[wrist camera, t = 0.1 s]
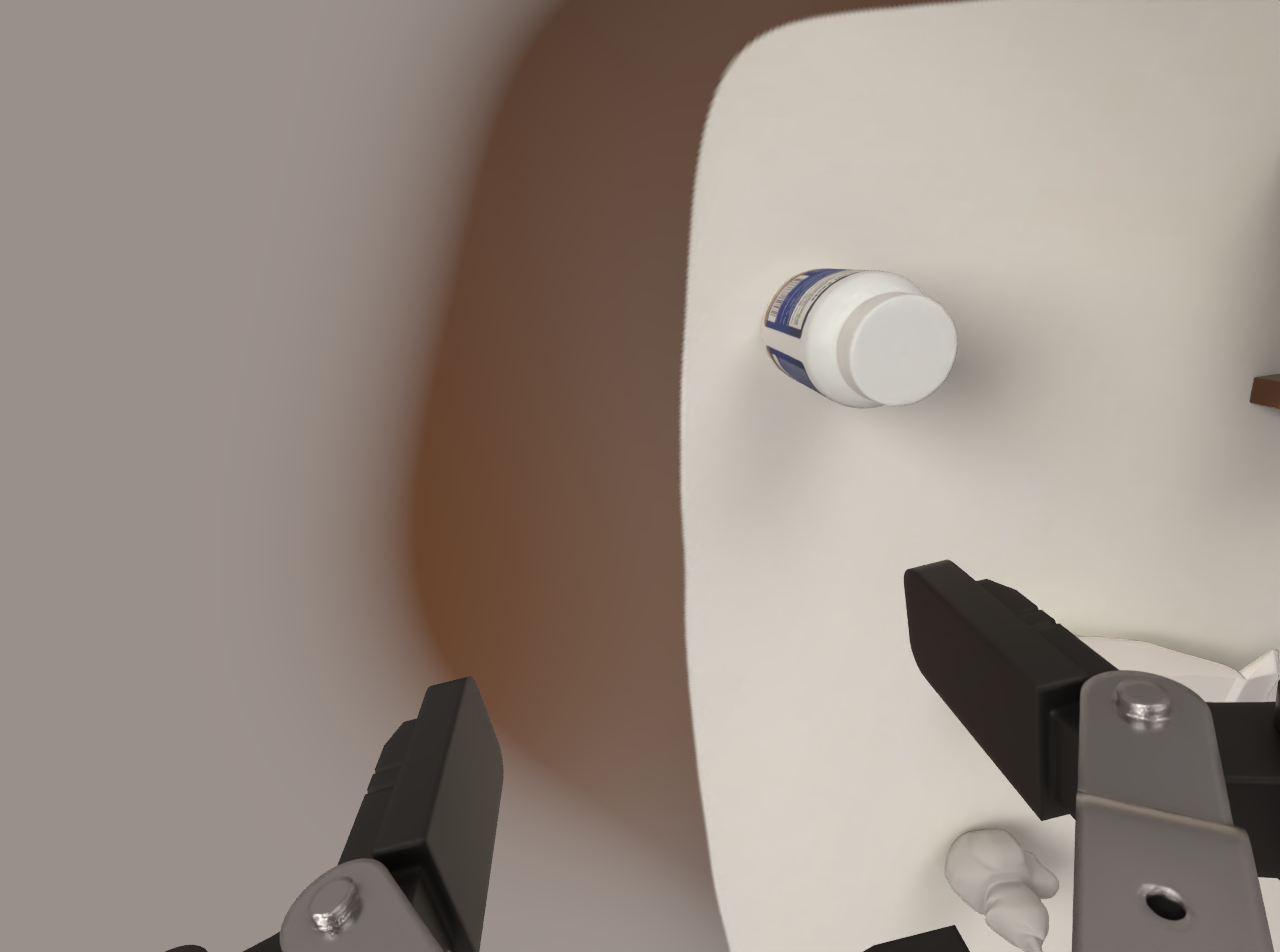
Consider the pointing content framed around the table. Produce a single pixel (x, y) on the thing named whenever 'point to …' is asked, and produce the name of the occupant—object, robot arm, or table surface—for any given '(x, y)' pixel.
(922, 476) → the table surface
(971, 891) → the rubber duck
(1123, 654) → the white flared handle
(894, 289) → the pill bottle
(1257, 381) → the shelf
